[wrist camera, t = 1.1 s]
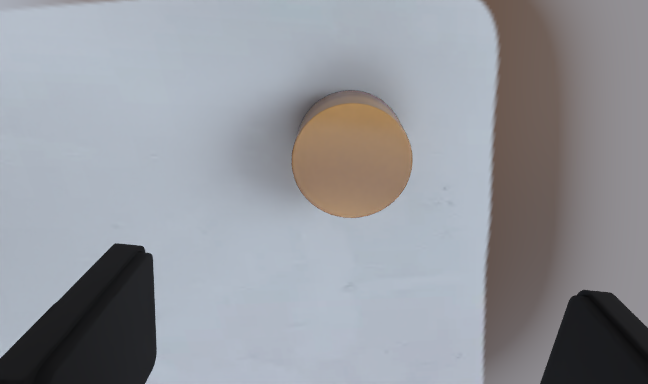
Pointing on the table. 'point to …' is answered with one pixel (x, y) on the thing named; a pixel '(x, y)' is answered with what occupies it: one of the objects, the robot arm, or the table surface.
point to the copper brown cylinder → (351, 155)
